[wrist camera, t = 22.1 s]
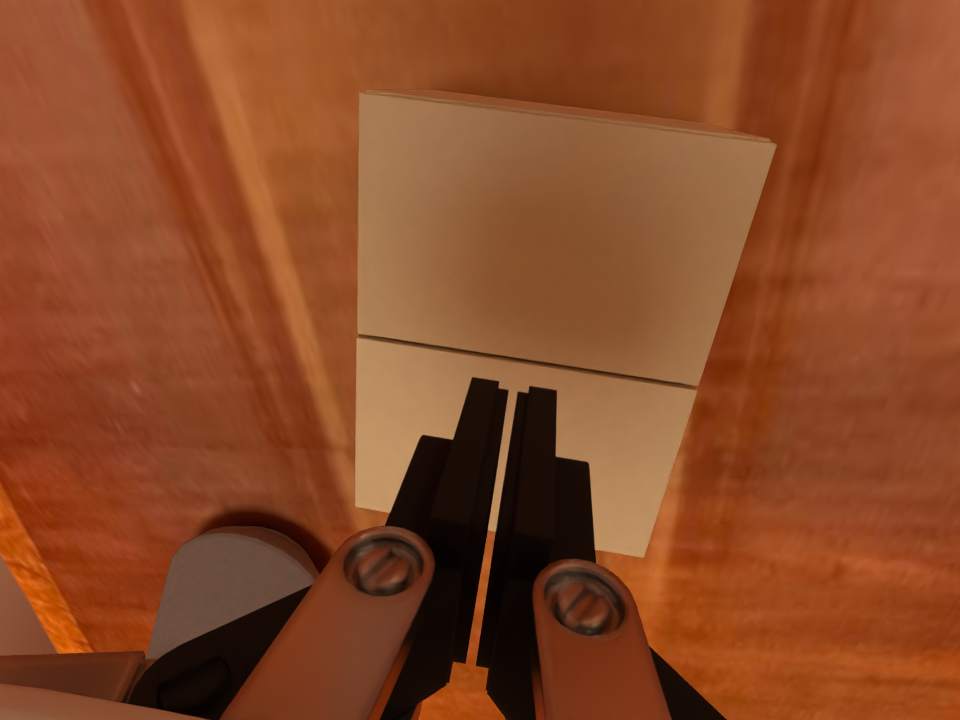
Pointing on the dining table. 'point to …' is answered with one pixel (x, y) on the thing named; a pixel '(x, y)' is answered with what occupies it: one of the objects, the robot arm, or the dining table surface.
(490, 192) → the flap
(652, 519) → the carton
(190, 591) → the coffee pot
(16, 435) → the dining table surface
